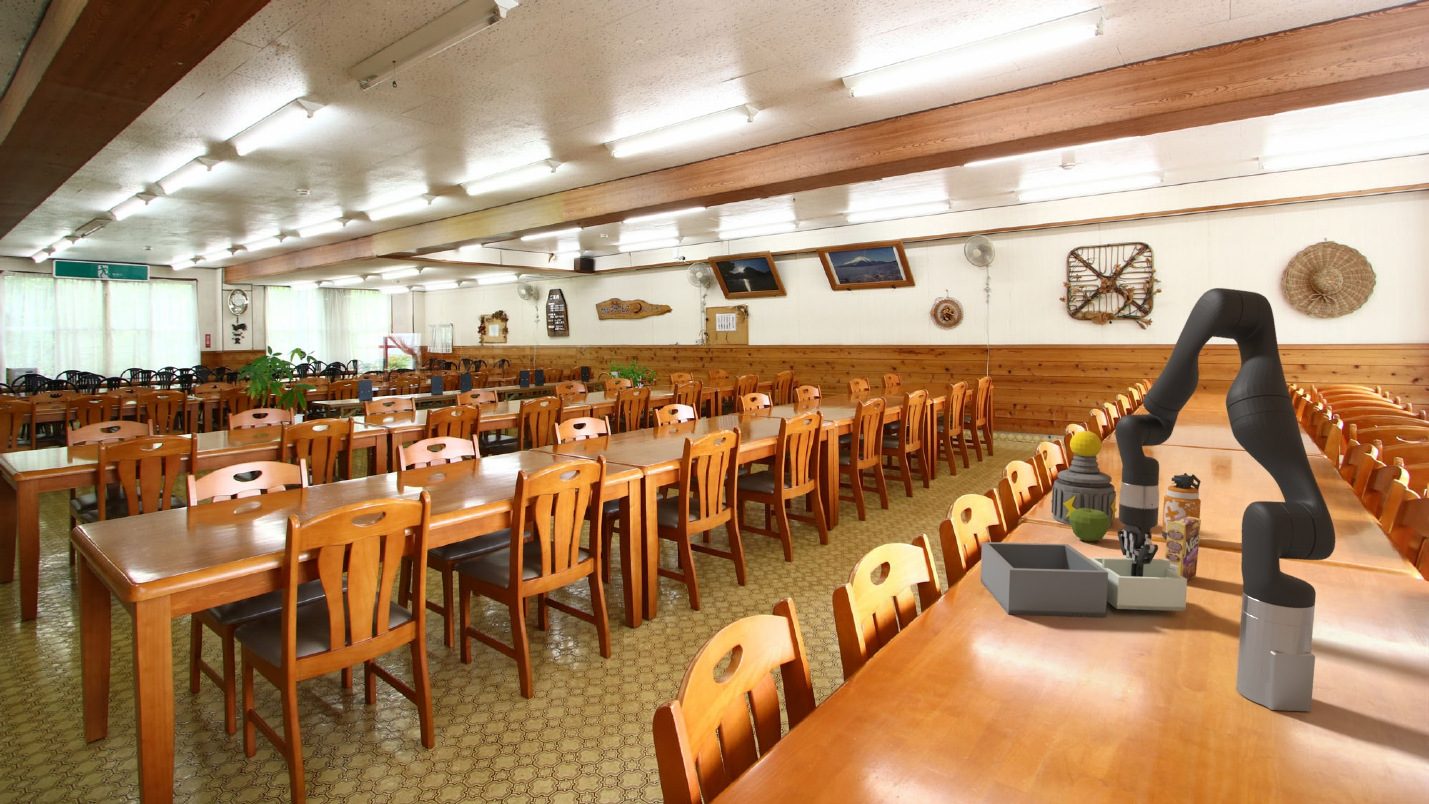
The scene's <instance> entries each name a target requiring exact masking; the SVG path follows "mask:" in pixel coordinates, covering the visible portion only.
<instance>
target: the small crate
mask: <svg viewBox="0 0 1429 804" xmlns="http://www.w3.org/2000/svg"><path fill="white" fill-rule="evenodd" d="M1088 559H1090V560H1091V561H1093V562H1094V563H1095V564H1097V565H1098V566H1100V567H1101V568H1102V569H1104V570H1105V571H1107V572H1108V585H1107V602H1108V603H1109V604H1110V605H1112V606H1113V607H1114V608H1115V609H1117V610H1138V611H1139V610H1144V611H1145V610H1146V611H1149V610H1150V611H1174V612H1175V611H1177V612H1179V611H1180V612H1186V605H1187V589H1188V581H1187V579H1186V578H1184V577H1182V576H1181V575H1179V574H1177V573H1175V572H1174V571H1172V570H1170V560H1168V559H1165V558H1153V559H1152V561H1151V563H1150V564H1144V567H1143V577H1131V570H1132V558H1126V557H1097V556H1096V557H1095V556H1093V557H1088Z"/></svg>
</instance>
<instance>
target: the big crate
mask: <svg viewBox="0 0 1429 804" xmlns="http://www.w3.org/2000/svg"><path fill="white" fill-rule="evenodd" d="M980 557H981V558H980V559H981V561H980V583H981V584H982V585H983V586H984V587H985V589H986V590H987V591H988V592H989V593H990V594H991V596H992V597H993V598H994V599H995V600H996V601H997V602H998V604H999V605H1000V607H1002V608H1003V610H1004V611H1005V612H1006V613H1007V615H1016V616H1017V615H1020V616H1045V617H1046V616H1048V617H1049V616H1052V617H1054V616H1055V617H1076V618H1077V617H1079V618H1080V617H1081V618H1082V617H1083V618H1106V617H1107V604H1108V603H1107V602H1108V601H1107V585H1108V572H1107V571H1105V570H1104V569H1102V568H1101V567H1100V566H1098V565H1097V564H1095V563H1094V562H1093V561H1091V560H1090V559H1089V557H1087V556H1086V555H1084V554H1082V553H1081V552H1080V551H1079V550H1077V549H1076V548H1074V547H1073V546H1071V545H1070V544H1069V543H1043V542H1042V543H1037V542H1036V543H1035V542H993V541H991V542H989V541H984V542H983V541H982V542H981V556H980Z"/></svg>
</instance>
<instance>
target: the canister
mask: <svg viewBox="0 0 1429 804" xmlns="http://www.w3.org/2000/svg"><path fill="white" fill-rule="evenodd" d="M1201 481H1202V480H1201V479H1200V478H1198V477H1197V476H1196V475H1195V474H1191V475H1188V473H1186V472H1185V473H1184V474H1179V475H1178V474H1175V475H1174V476H1173V477H1171V482H1172V483H1171V485H1169V486H1168V487H1167V488H1166V495H1163V509H1162V511H1163V512H1162V529H1161V530H1162V532H1161V537H1163V538H1164V539H1166V540H1167V530H1168V521H1169V520H1173V519H1176V518H1179V517H1182V516H1188V517H1194V518H1198V519H1201V505H1202V504H1201V503H1202V501H1201V499H1200V498H1199V497H1200V496H1199V495H1200V492H1199V491H1200V490H1199V489H1200V485H1201ZM1196 483H1197V484H1196ZM1174 484H1175V485H1174Z"/></svg>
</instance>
